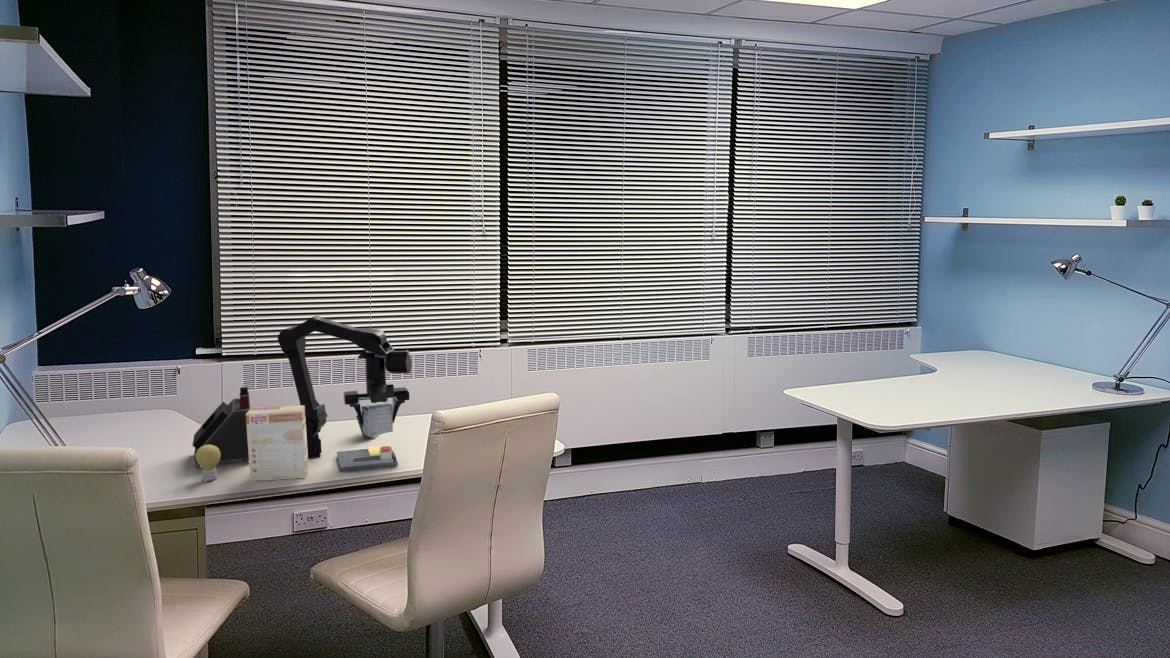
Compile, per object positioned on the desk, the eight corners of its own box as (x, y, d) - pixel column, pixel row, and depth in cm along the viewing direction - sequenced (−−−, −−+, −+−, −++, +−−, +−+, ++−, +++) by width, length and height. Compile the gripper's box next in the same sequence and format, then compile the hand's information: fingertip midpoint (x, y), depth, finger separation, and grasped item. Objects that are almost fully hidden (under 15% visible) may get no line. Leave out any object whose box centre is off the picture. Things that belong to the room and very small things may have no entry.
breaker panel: (341, 472, 259) (340, 462, 259) (336, 456, 274) (336, 447, 274) (397, 466, 264) (397, 457, 264) (390, 451, 279) (390, 442, 279)
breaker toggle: (381, 462, 264) (381, 450, 263) (379, 458, 267) (379, 446, 267) (391, 461, 264) (391, 449, 264) (390, 457, 268) (389, 445, 268)
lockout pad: (370, 458, 267) (370, 456, 267) (367, 448, 277) (367, 447, 277) (391, 456, 269) (391, 454, 269) (387, 446, 279) (387, 445, 279)
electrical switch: (374, 439, 292) (370, 411, 290) (358, 440, 292) (354, 412, 291) (383, 431, 301) (379, 404, 300) (368, 432, 302) (364, 405, 300)
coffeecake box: (309, 470, 261) (305, 404, 258) (305, 478, 254) (301, 411, 251) (254, 473, 259) (250, 407, 255) (249, 481, 252) (245, 413, 248)
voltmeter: (196, 453, 278) (191, 390, 274) (253, 448, 283) (249, 385, 280) (193, 469, 263) (188, 402, 259) (253, 463, 268) (249, 397, 265)
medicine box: (386, 428, 276) (385, 401, 275) (393, 432, 273) (392, 403, 271) (362, 433, 271) (361, 405, 270) (369, 436, 268) (368, 408, 266)
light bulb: (208, 475, 257) (205, 441, 256) (227, 477, 256) (224, 442, 254) (192, 482, 251) (189, 447, 250) (211, 484, 249) (209, 449, 248)
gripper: (345, 380, 258) (347, 433, 261) (411, 376, 264) (413, 428, 267) (342, 372, 269) (344, 423, 271) (406, 368, 275) (407, 418, 277)
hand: (377, 423), depth 272 cm, fingers closed on medicine box, 9 cm apart
